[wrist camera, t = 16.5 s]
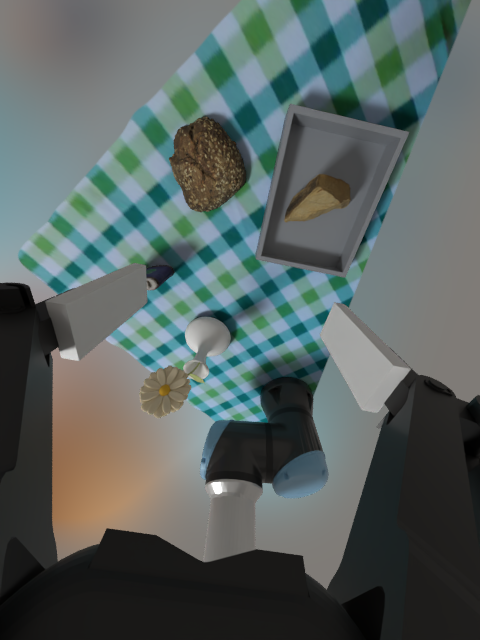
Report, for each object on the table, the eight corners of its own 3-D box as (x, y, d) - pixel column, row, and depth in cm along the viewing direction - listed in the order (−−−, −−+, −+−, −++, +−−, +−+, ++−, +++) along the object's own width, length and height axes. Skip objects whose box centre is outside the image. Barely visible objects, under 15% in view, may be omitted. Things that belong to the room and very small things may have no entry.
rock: (370, 174, 33) (318, 145, 30) (377, 210, 29) (319, 180, 27) (324, 225, 42) (281, 206, 40) (325, 257, 39) (278, 238, 36)
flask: (138, 282, 46) (109, 300, 37) (132, 270, 45) (101, 285, 36) (176, 275, 45) (156, 292, 36) (171, 262, 44) (149, 276, 34)
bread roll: (253, 187, 37) (253, 184, 33) (196, 220, 40) (189, 221, 36) (219, 101, 32) (214, 83, 28) (157, 147, 35) (143, 137, 31)
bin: (336, 271, 43) (345, 277, 39) (255, 254, 42) (255, 259, 38) (390, 142, 33) (409, 132, 29) (285, 117, 32) (290, 103, 28)
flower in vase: (237, 321, 50) (225, 408, 28) (224, 356, 55) (205, 452, 33) (185, 305, 49) (130, 382, 26) (177, 342, 54) (125, 432, 32)
